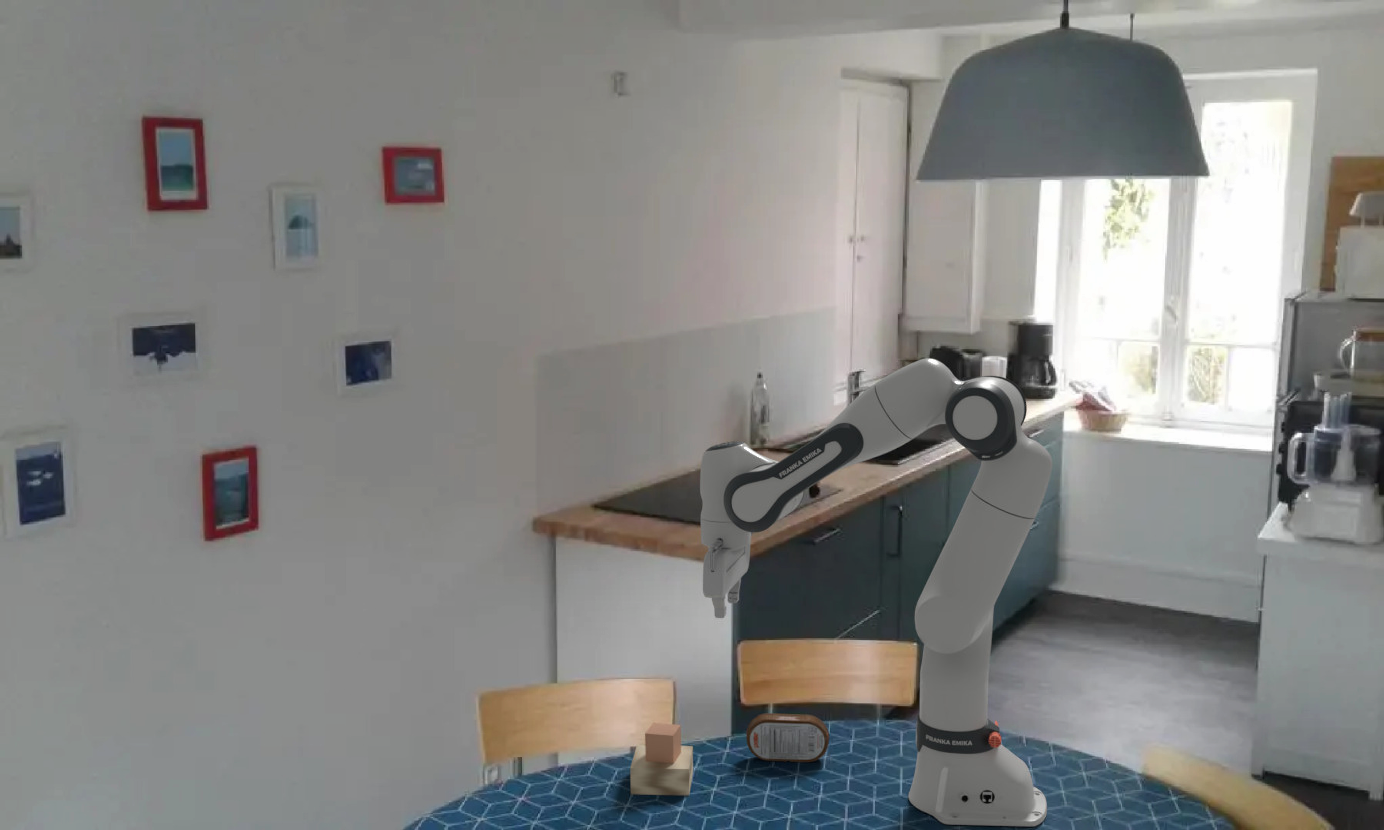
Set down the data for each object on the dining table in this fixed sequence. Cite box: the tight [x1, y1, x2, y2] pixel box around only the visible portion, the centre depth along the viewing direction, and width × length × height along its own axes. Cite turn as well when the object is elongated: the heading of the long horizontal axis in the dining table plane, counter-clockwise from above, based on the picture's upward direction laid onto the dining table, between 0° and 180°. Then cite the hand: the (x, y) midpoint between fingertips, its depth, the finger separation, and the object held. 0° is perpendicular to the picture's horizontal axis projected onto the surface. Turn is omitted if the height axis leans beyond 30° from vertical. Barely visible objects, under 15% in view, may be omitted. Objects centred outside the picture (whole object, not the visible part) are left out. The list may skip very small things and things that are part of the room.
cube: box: [644, 722, 682, 764], centre depth 220 cm, size 5×5×5 cm
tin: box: [745, 712, 830, 763], centre depth 229 cm, size 15×3×8 cm, turn 84°
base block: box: [629, 744, 694, 796], centre depth 221 cm, size 10×10×5 cm
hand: (727, 609), depth 225 cm, fingers open, 8 cm apart
